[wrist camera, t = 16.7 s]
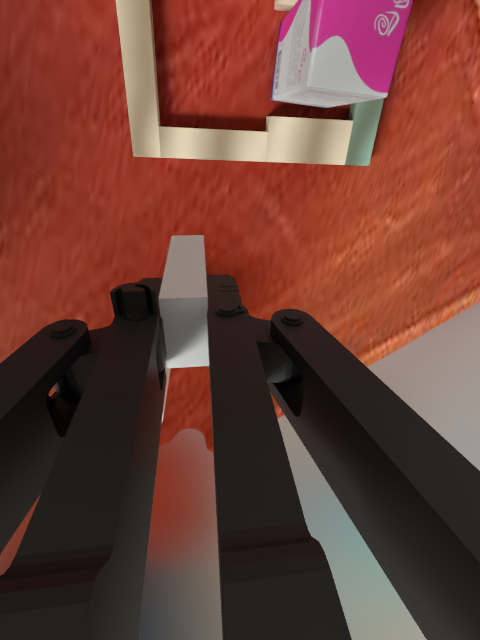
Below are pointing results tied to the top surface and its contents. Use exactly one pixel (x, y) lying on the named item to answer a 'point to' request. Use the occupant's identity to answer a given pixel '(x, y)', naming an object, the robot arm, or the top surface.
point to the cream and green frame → (215, 144)
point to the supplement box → (338, 51)
